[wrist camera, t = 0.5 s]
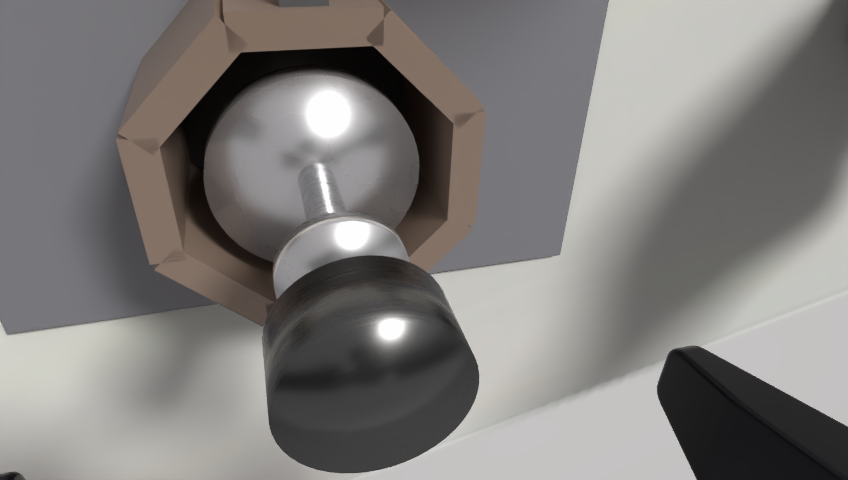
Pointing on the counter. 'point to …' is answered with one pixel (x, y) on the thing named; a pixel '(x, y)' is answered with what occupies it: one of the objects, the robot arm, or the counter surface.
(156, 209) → the brown octagonal ring
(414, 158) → the silver stemmed round piece
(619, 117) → the counter surface
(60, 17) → the mat
